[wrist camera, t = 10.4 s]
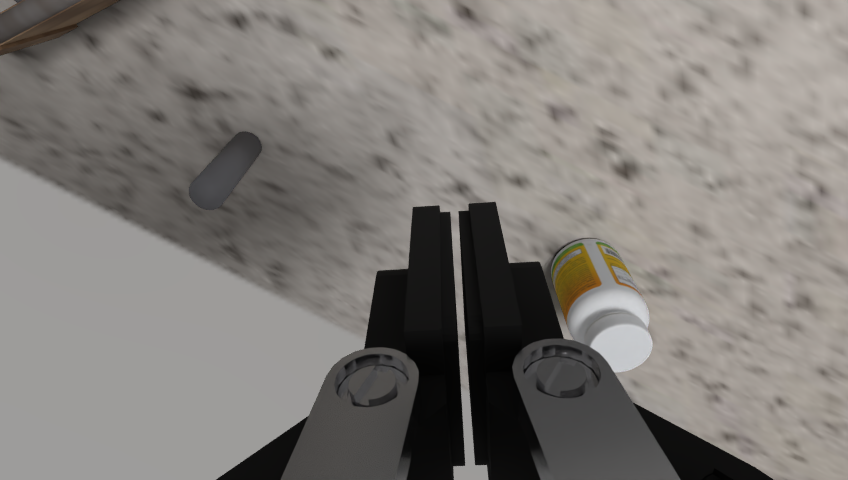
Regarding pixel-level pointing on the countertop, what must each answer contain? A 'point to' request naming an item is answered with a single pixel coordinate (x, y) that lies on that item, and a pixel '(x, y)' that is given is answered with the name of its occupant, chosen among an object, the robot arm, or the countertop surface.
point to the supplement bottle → (602, 303)
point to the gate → (43, 20)
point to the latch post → (225, 171)
